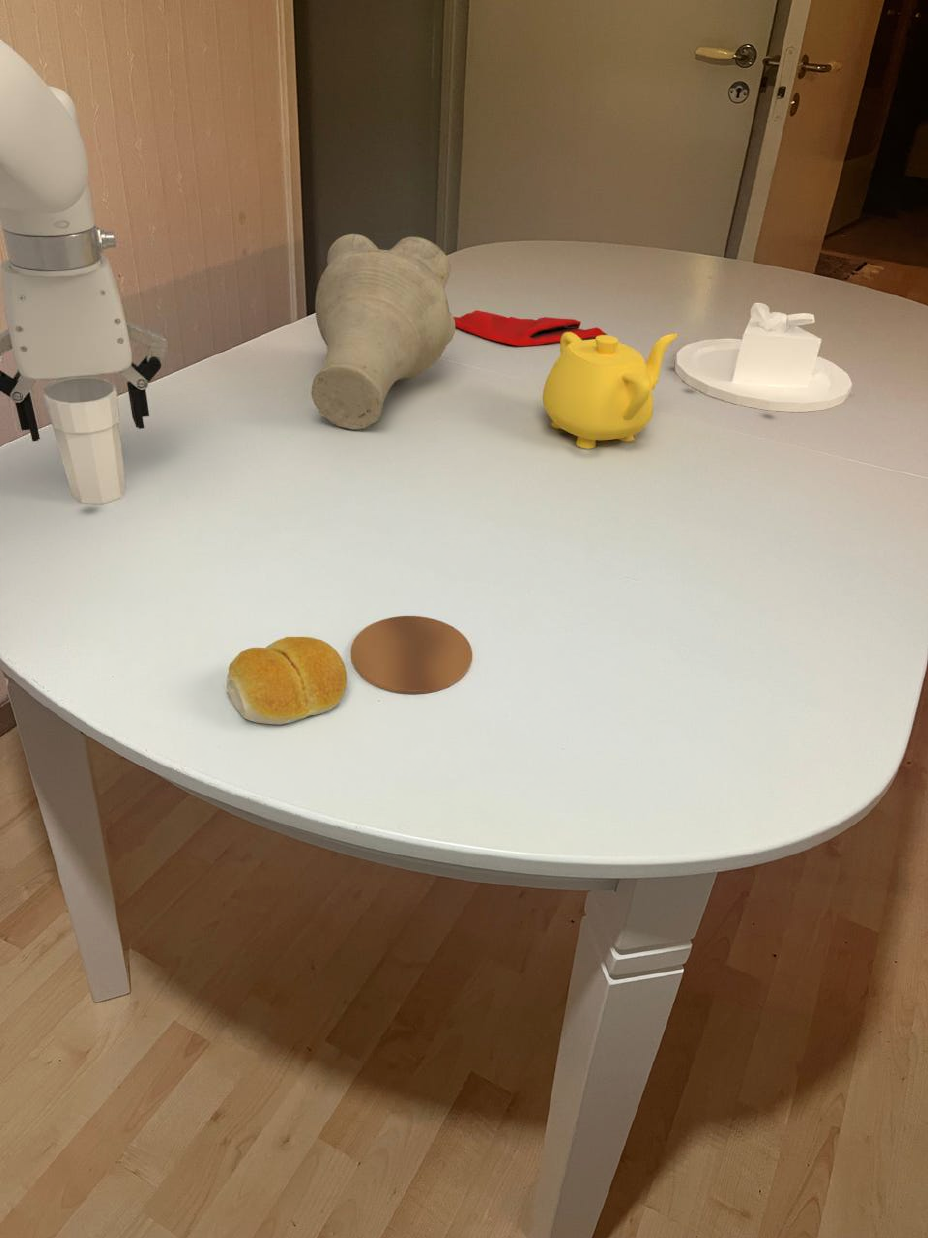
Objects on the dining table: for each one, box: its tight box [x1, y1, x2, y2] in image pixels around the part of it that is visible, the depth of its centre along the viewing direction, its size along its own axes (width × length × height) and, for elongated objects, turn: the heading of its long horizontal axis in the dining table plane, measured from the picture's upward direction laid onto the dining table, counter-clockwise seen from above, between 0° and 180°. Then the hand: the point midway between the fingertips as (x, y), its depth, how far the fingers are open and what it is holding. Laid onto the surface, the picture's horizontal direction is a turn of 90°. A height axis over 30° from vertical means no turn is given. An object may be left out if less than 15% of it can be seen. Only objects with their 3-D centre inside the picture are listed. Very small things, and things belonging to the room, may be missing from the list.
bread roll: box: [225, 636, 348, 725], centre depth 71 cm, size 8×9×4 cm
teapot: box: [541, 332, 679, 450], centre depth 112 cm, size 14×14×12 cm
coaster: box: [350, 615, 473, 695], centre depth 76 cm, size 10×10×1 cm
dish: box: [674, 302, 853, 413], centre depth 131 cm, size 25×25×11 cm
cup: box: [42, 376, 127, 505], centre depth 92 cm, size 7×7×11 cm
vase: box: [311, 233, 456, 431], centre depth 113 cm, size 22×22×28 cm
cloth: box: [453, 310, 608, 347], centre depth 143 cm, size 26×14×2 cm, turn 73°
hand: (87, 429), depth 91 cm, fingers open, 9 cm apart
